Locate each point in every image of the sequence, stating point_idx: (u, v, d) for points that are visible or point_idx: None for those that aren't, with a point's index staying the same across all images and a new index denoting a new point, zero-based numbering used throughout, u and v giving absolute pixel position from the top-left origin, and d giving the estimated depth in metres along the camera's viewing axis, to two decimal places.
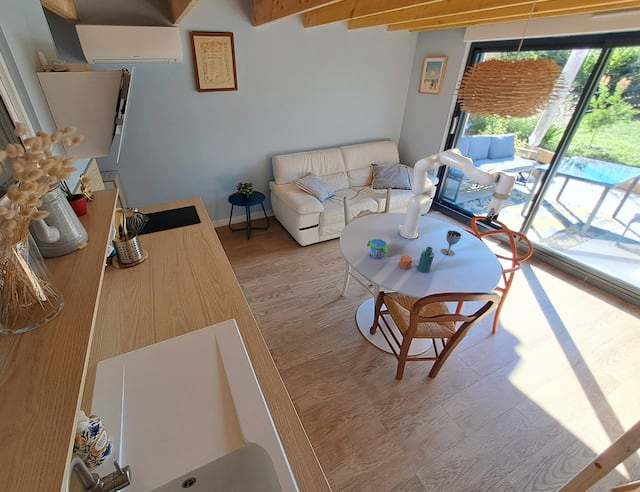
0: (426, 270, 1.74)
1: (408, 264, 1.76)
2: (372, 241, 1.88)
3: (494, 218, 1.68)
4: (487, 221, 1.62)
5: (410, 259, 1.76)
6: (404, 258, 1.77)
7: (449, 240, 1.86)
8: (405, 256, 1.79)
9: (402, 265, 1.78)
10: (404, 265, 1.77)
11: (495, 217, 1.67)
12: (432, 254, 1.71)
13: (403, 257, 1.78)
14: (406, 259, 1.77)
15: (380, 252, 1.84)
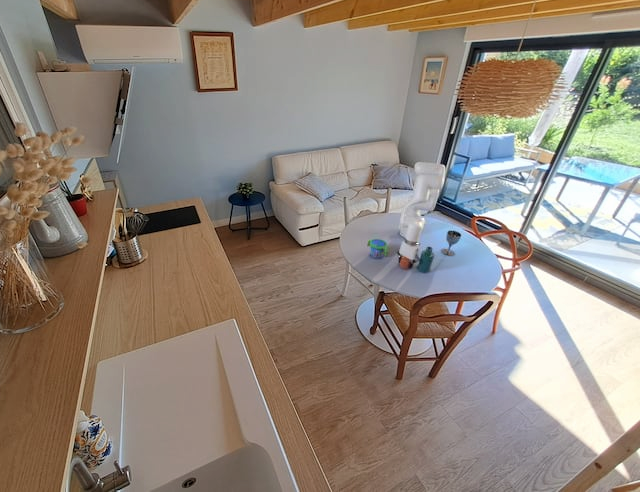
0: (426, 270, 1.74)
1: (408, 264, 1.76)
2: (372, 241, 1.88)
3: None
4: None
5: None
6: (404, 258, 1.77)
7: (449, 240, 1.86)
8: None
9: (402, 265, 1.78)
10: (404, 265, 1.77)
11: None
12: (432, 254, 1.71)
13: (403, 257, 1.78)
14: (406, 259, 1.77)
15: (380, 252, 1.84)
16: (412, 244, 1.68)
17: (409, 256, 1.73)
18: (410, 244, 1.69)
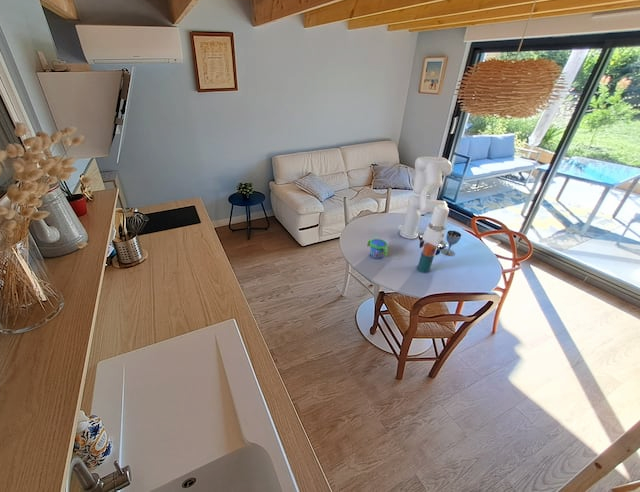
0: (426, 270, 1.74)
1: (432, 251, 1.67)
2: (372, 241, 1.88)
3: None
4: None
5: (434, 246, 1.67)
6: (428, 245, 1.68)
7: (449, 240, 1.86)
8: (428, 243, 1.70)
9: (425, 253, 1.69)
10: (428, 252, 1.68)
11: None
12: None
13: (426, 244, 1.69)
14: (430, 246, 1.67)
15: (380, 252, 1.84)
16: (438, 229, 1.59)
17: (434, 242, 1.64)
18: (435, 229, 1.59)
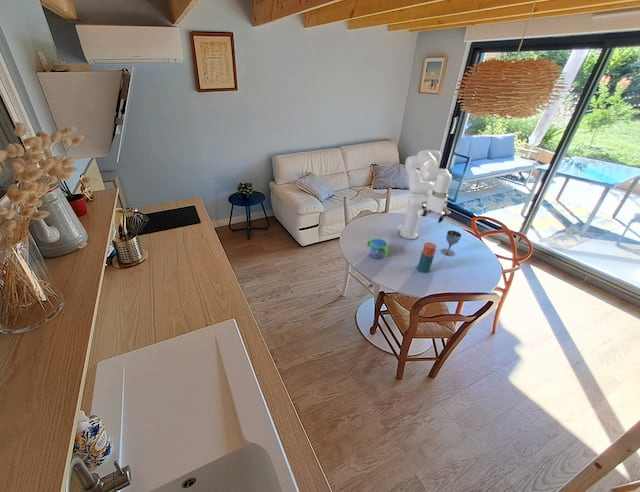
0: (426, 270, 1.74)
1: (432, 251, 1.67)
2: (372, 241, 1.88)
3: None
4: None
5: (434, 246, 1.67)
6: (428, 245, 1.68)
7: (449, 240, 1.86)
8: (428, 243, 1.70)
9: (425, 253, 1.69)
10: (428, 252, 1.68)
11: None
12: None
13: (426, 244, 1.69)
14: (430, 246, 1.67)
15: (380, 252, 1.84)
16: (441, 196, 1.64)
17: (437, 210, 1.69)
18: (439, 196, 1.64)
